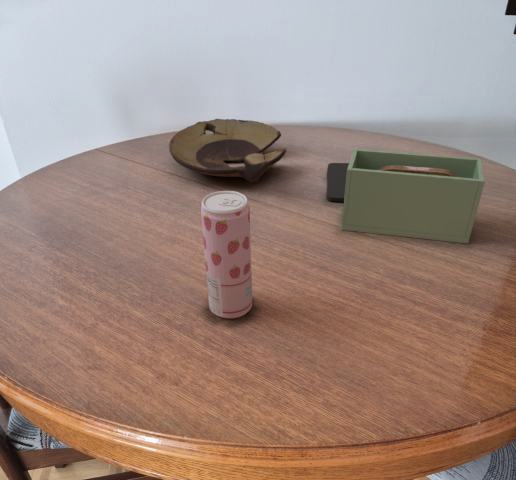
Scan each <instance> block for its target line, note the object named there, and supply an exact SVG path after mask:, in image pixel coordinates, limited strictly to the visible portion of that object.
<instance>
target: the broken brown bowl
mask: <svg viewBox="0 0 516 480" xmlns="http://www.w3.org/2000/svg"><path fill="white" fill-rule="evenodd" d="M206 131H209V132H212V133H206ZM281 137H282V133H281V131H279V130H277V128H276V127H273V126H272V125H268V124H265V123H264V122H260V121H257V120H247V119H246V120H244V119H236V118H231V119H230V118H229V119H228V118H226V119H223V118H215V119H211V120H204V121H198V122H196V123H195V124H192V125H189V126H187V127H185V128H183V129H181V130H179V131H178V132H177V133H175V135H173V136H172V138H171V139H170V141H169V144H168V150H169V153H170V155H171V157H172V158H173V160H174V161H175V162H176V163H177V164H179V165H180V166H182V167H183V168H186V169H188V170H190V171H193V172H197V173H201V174H204V175H208V176H214V177H225V178H239V177H240V178H242V179H244V180H246V181H247V182H250V183H253V182H257V181H259V180H260V179H261V177H262V176H263V175H264V173H265V172H266V171H267V170H268V169H269V168H270V167H272V166H274V165H276V163H278V162H279V161H281V160H282V159H283V157H284V156H285V155H286V153H287V148H281V149H276V150H275V151H272V152H268V153H266V154H264V152H265V151H266V150H268V149H269V148H270V147H271V146H272V145H274V144H275V143H276V142H277V141H278V140H279V139H281ZM226 162H234V163H235V162H236V163H239V162H243V164H244V165H242V166H232V167H231V166H230V165H229V164H227V163H226Z"/></svg>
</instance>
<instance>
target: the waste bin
mask: <svg viewBox="0 0 516 480" xmlns="http://www.w3.org/2000/svg"><path fill="white" fill-rule="evenodd" d="M351 153H352V154H351V156H350V160H349V162H348V163H349V165H348V168H347V176H346V186H345V197H344V202H343V208H342V219H341V230H342V231H350V232H359V233H366V234H367V233H368V234H377V235H386V236H395V237H404V238H413V239H422V240H431V241H441V242H449V243H457V244H458V243H459V244H467V245H468V244H469V243H470V239H471V235H472V231H473V227H474V224H475V220H476V216H477V212H478V210H479V209H478V208H479V205H480V202H481V197H482V195H483V191H484V187H485V183H486V180H485V179H486V178H485V173H484V166H483V159H482V158H478V157H477V158H476V157H466V156H465V157H464V156H451V155H440V154H439V155H438V154H427V153H414V152H403V151H401V152H400V151H388V150H376V149H365V148H364V149H363V148H362V149H361V148H353V150H352V152H351ZM389 165H399V166H412V167H426V168H441V169H446V170H449V171H451V172H453V173H454V174H455V175H456V176H457V177H450V176H438V175H427V174H415V173H404V172H392V171H380V170H378V169H380V168H382V167H385V166H389Z"/></svg>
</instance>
